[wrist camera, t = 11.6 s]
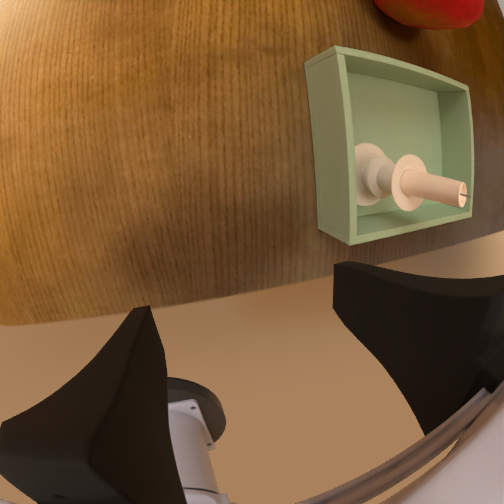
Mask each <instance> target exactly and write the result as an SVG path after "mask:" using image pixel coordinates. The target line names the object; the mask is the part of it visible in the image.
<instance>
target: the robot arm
mask: <svg viewBox="0 0 504 504" xmlns="http://www.w3.org/2000/svg"><path fill="white" fill-rule="evenodd" d="M333 309H334V310H335V312H336V313H337V315H338V316H339V318H340V319H341V321H342V322H343V323H344V325H345V326H346V327H347V328H348V329H349V330H350V331H351V332H352V333H353V334H354V336H356V338H357V339H358V340H359V341H360V342H361V343H362V344H363V345H364V346H365V347H366V348H367V349H368V350H369V351H370V352H371V353H372V354H373V355H374V356H375V357H376V358H377V359H378V361H379V362H380V363H381V364H382V365H383V367H384V368H385V369H386V371H387V372H388V373H389V375H390V376H391V378H392V379H393V380H394V382H395V383H396V385H397V386H398V388H399V389H400V391H401V392H402V394H403V395H404V397H405V399H406V400H407V402H408V404H409V406H410V407H411V409H412V411H413V413H414V414H415V416H416V418H417V420H418V422H419V424H420V427H421V429H422V431H423V433H424V435H425V437H424V438H422V439H421V440H419V441H418V442H416V443H415V444H413V445H412V446H411V447H409V448H407V449H406V450H404V451H403V452H401V453H400V454H398V455H396V456H395V457H393V458H392V459H390V460H388V461H387V462H385V463H383V464H381V465H380V466H378V467H376V468H374V469H372V470H371V471H369V472H367V473H365V474H363V475H361V476H359V477H357V478H355V479H353V480H351V481H349V482H347V483H345V484H343V485H341V486H338V487H336V488H334V489H332V490H329V491H327V492H324V493H322V494H320V495H317V496H315V497H312V498H309V499H307V500H304V501H301V502H298V503H295V504H363V503H365V502H366V501H368V500H370V499H372V498H374V497H376V496H377V495H379V494H381V493H383V492H384V491H386V490H388V489H389V488H391V487H393V486H394V485H396V484H398V483H399V482H401V481H402V480H404V479H405V478H407V477H408V476H410V475H411V474H413V473H414V472H416V471H417V470H419V469H420V468H421V467H423V466H424V465H425V464H427V463H428V462H429V461H430V460H432V459H433V458H435V457H436V456H437V455H439V454H440V453H441V452H442V451H443V450H445V449H446V448H447V447H448V446H449V445H451V444H452V443H453V442H454V441H455V440H457V439H458V438H459V437H460V436H461V435H462V434H463V433H464V432H465V433H464V434H463V435H462V436H461V437H460V438H459V439H458V441H457V442H456V444H455V445H454V447H453V448H452V450H451V451H450V452H449V453H448V454H447V456H446V457H445V458H444V459H442V460H441V461H440V462H439V463H437V464H436V465H435V466H433V467H432V468H431V469H429V470H428V471H427V472H426V473H424V474H423V475H422V476H420V477H419V478H417V479H416V480H415V481H413V482H412V483H411V484H409V485H408V486H406V487H405V488H403V489H402V490H400V491H399V492H397V493H396V494H394V495H393V496H391V497H390V498H388V499H386V500H385V501H383V502H382V503H380V504H504V275H500V276H494V277H486V278H473V279H450V278H436V277H428V276H420V275H414V274H409V273H404V272H399V271H394V270H390V269H386V268H381V267H377V266H372V265H368V264H363V263H358V262H350V261H345V262H341V263H338V264H334V286H333ZM214 449H215V444H214V442H213V440H212V437H211V435H210V433H209V430H208V428H207V425H206V423H205V420H204V418H203V415H202V413H201V410H200V408H199V405H198V402H197V401H196V400H195V399H188V400H183V401H177V402H172V403H168V383H167V368H166V360H165V353H164V348H163V345H162V342H161V339H160V336H159V333H158V330H157V327H156V324H155V321H154V318H153V315H152V312H151V308H150V305H148V306H143V307H138V308H133V310H132V311H131V312H130V313H129V314H128V316H127V317H126V318H125V320H124V322H123V323H122V324H121V325H120V327H119V328H118V329H117V330H116V332H115V333H114V334H113V336H112V337H111V338H110V339H109V341H108V342H107V343H106V344H105V345H104V346H103V348H102V349H101V350H100V351H99V353H98V354H97V355H96V356H95V357H94V358H93V359H92V360H91V361H90V362H89V363H88V364H87V365H86V366H85V367H84V368H83V369H82V370H81V371H80V372H79V373H78V374H77V375H76V376H75V377H73V378H72V379H71V380H70V381H68V382H67V383H66V384H65V385H64V386H62V387H61V388H60V389H59V390H57V391H56V392H55V393H53V394H52V395H50V396H49V397H47V398H46V399H44V400H43V401H41V402H40V403H38V404H36V405H35V406H33V407H31V408H30V409H28V410H26V411H24V412H22V413H20V414H19V415H16V416H14V417H12V418H10V419H8V420H6V421H4V422H2V424H1V427H0V474H1V475H2V476H3V477H4V478H5V479H6V480H7V481H9V482H10V483H11V484H12V485H14V486H15V487H16V488H17V489H19V490H20V491H21V492H23V493H24V494H26V495H27V496H29V497H30V498H31V499H33V500H34V501H36V502H37V503H38V504H237V503H229V499H228V497H227V494H219V490H218V486H217V483H216V479H215V476H214V472H213V469H212V465H211V461H210V457H209V453H208V451H211V450H214ZM0 504H16V503H12V502H9V501H6V500H3V499H0Z"/></svg>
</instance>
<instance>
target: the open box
mask: <svg viewBox="0 0 504 504" xmlns="http://www.w3.org/2000/svg"><path fill="white" fill-rule="evenodd" d="M304 67H305V75H306V83H307V91H308V99H309V108H310V118H311V128H312V139H313V151H314V165H315V180H316V198H317V222H318V229H319V230H321V231H323V232H325V233H327V234H329V235H331V236H333V237H335V238H336V239H338V240H340V241H342V242H344V243H346V244H348V245H349V246H350V245H355V244H359V243H364V242H368V241H372V240H377V239H381V238H385V237H390V236H394V235H398V234H402V233H407V232H411V231H415V230H419V229H423V228H428V227H432V226H436V225H440V224H444V223H448V222H452V221H456V220H461V219H465V218H469V217H471V216H472V204H473V188H474V139H473V123H472V111H471V102H470V94H469V88H468V86H467V85H464V84H462V83H460V82H458V81H455V80H453V79H451V78H448V77H446V76H443V75H441V74H438V73H435V72H433V71H430V70H427V69H425V68H422V67H419V66H416V65H413V64H410V63H406V62H403V61H400V60H396V59H393V58H389V57H386V56H382V55H378V54H374V53H370V52H365V51H361V50H356V49H351V48H346V47H341V46H333V47H332V48H330V49H328V50H326V51H324V52H322V53H320V54H318V55H317V56H315V57H313V58H311V59H309V60H308V61H306V62H304ZM358 143H371V144H373V145H376V146H377V147H379V148H380V149H381V150H382V151H383V153H384V154H385V156H386V157H387V158H389V159H390V160H391V161H392V162H393V163H394V164H396V163H397V161H398V160H399V159H400V158H401V157H403V156H404V155H407V154H411V155H415V156H417V157H419V158H420V159H421V160H422V162H423V163H424V165H425V167H426V171H427V173H428V174H432V175H437V176H442V177H446V178H450V179H454V180H457V181H461V182H464V183H465V184H466V188H467V195H469V196H471V198H469V197H466V202H465V205H464V207H462V208H460V207H456V206H452V205H448V204H443V203H439V202H435V201H431V200H427V199H424V200H423V201H422V203H421V204H420V206H418V207H417V208H416V209H414V210H412V211H405V210H402V209H400V208H399V207H398V206H397V205H396V203H395V201H394V199H393V196H392V195H389V196H388V197H386V198H381V200H380V201H378V202H377V203H376V204H374V205H371V206H360V205H357V187H356V161H355V144H358Z"/></svg>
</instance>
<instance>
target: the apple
mask: <svg viewBox="0 0 504 504" xmlns="http://www.w3.org/2000/svg"><path fill="white" fill-rule="evenodd" d="M373 1H374V2H375V4H376V6H377V7H378V8H379V9H380V10H381V11H382V12H383V13H385V14H386V15H388V16H390V17H391V18H393V19H394V20H396V21H397V22H399V23H400V24H403V25H406V26H409V27H417V28H425V29H433V30H440V29H454V28H466V27H469V26H470V25H472V24H473V23H474V22H475V21H477V20H478V19H479V18H480V17H481V15H482V10H483V5H484V0H373Z"/></svg>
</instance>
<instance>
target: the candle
mask: <svg viewBox="0 0 504 504" xmlns="http://www.w3.org/2000/svg"><path fill="white" fill-rule="evenodd" d="M355 161H356V187H357V205H360V206H371V205H374V204H376V203H377V202H378V201H380V200H381V198H386V197H388V196H389V195H392V196H393V199H394V201H395V203H396V205H397V206H398V207H399V208H400V209H402V210H405V211H412V210H414V209H416V208H417V207H418V206H420V204H421V203H422V201H423V200H424V199H427V200H431V201H435V202H439V203H443V204H448V205H452V206H456V207H460V208H462V207H464V205H465V202H466V197H469V198H471V196H469V195H467V188H466V184H465V183H464V182H461V181H457V180H454V179H450V178H446V177H442V176H437V175H432V174H428V173H427V171H426V167H425V165H424V163H423V162H422V160H421V159H420V158H419V157H417V156H415V155H411V154H407V155H404V156H403V157H401V158H400V159H399V160H398V161H397V163H396V164H394V163H393V162H392V161H391V160H390V159H389V158H387V157H386V156H385V154H384V153H383V151H382V150H381V149H380V148H379V147H377V146H376V145H373V144H371V143H358V144H355Z"/></svg>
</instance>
